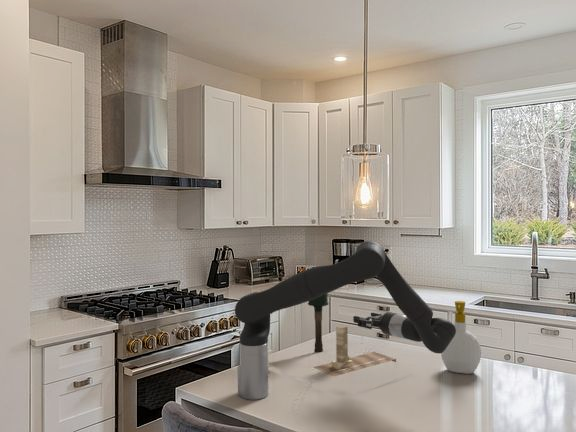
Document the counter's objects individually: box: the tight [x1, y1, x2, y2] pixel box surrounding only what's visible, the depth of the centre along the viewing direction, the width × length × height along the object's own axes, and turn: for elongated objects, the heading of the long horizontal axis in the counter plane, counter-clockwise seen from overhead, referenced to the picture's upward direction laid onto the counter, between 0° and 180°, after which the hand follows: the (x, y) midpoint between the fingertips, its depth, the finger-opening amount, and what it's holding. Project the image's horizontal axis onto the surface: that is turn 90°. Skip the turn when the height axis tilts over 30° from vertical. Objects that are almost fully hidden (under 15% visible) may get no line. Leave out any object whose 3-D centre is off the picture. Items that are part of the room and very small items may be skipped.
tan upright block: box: [331, 325, 353, 370], centre depth 179 cm, size 7×4×15 cm, turn 125°
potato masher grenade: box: [307, 293, 329, 354], centre depth 200 cm, size 8×9×30 cm
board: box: [313, 351, 397, 377], centre depth 183 cm, size 32×12×2 cm, turn 125°
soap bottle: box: [440, 300, 482, 375], centre depth 176 cm, size 14×9×26 cm, turn 66°
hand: (362, 317), depth 170 cm, fingers open, 8 cm apart
